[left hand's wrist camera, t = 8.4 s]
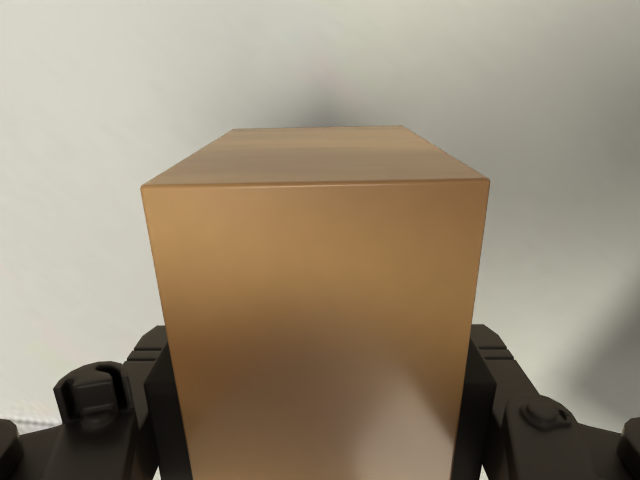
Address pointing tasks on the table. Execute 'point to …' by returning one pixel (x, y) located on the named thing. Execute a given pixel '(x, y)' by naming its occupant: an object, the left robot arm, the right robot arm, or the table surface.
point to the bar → (318, 301)
